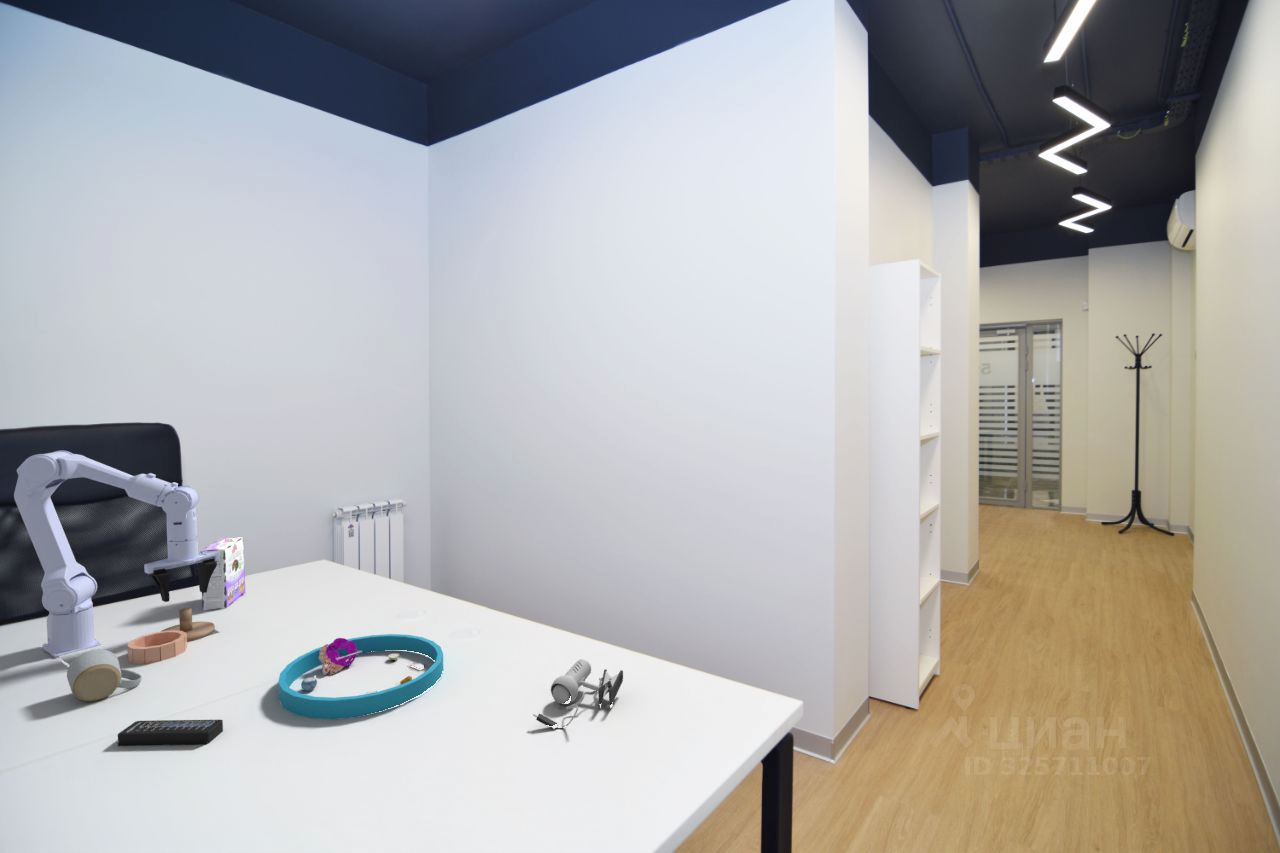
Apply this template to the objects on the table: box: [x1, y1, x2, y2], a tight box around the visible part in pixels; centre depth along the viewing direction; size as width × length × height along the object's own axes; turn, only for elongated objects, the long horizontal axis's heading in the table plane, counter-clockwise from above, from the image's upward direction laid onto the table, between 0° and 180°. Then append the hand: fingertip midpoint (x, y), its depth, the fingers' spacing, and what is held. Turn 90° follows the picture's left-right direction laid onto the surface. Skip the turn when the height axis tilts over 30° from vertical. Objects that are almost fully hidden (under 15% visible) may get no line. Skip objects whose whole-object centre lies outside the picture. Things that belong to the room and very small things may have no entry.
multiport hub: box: [117, 719, 224, 747], centre depth 105 cm, size 4×14×2 cm, turn 92°
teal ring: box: [277, 633, 444, 720], centre depth 126 cm, size 30×30×6 cm
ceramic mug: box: [66, 648, 143, 702], centre depth 120 cm, size 11×8×8 cm
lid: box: [159, 607, 216, 643], centre depth 147 cm, size 11×11×6 cm
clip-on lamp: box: [532, 658, 624, 727], centre depth 115 cm, size 12×6×18 cm
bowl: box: [126, 630, 188, 665], centre depth 137 cm, size 10×10×4 cm
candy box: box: [200, 536, 246, 611], centre depth 170 cm, size 14×6×16 cm, turn 14°
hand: (184, 596), depth 147 cm, fingers open, 7 cm apart
